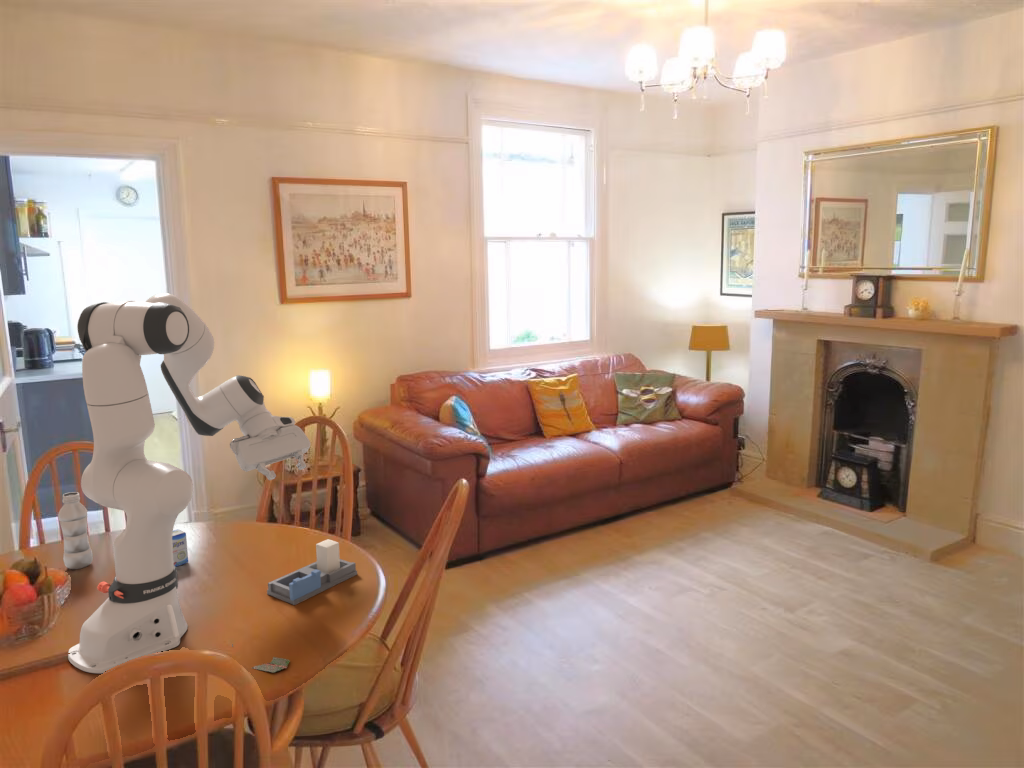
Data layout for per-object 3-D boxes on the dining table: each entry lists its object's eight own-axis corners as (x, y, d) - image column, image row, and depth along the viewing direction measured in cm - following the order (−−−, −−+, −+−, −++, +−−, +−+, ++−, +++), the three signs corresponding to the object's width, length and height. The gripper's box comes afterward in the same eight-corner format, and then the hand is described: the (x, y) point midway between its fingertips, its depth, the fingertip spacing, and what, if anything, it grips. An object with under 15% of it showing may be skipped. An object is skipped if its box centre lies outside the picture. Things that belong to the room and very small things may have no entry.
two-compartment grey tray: (296, 605, 166) (294, 582, 165) (267, 594, 172) (265, 571, 171) (358, 574, 182) (358, 553, 181) (330, 565, 188) (329, 544, 187)
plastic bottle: (84, 572, 184) (76, 498, 180) (58, 572, 184) (49, 498, 180) (99, 561, 190) (91, 490, 187) (74, 561, 190) (66, 490, 187)
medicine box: (159, 573, 184) (156, 541, 182) (151, 568, 186) (148, 537, 185) (189, 562, 190) (186, 532, 188) (180, 558, 192) (177, 528, 191)
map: (278, 677, 138) (278, 673, 138) (201, 654, 147) (201, 650, 146) (296, 664, 143) (295, 660, 143) (220, 642, 151) (220, 638, 151)
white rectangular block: (328, 577, 179) (326, 547, 177) (317, 573, 181) (315, 544, 179) (340, 572, 182) (338, 542, 180) (329, 568, 184) (328, 539, 183)
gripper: (230, 433, 178) (258, 478, 175) (297, 416, 194) (323, 456, 191) (222, 447, 182) (248, 491, 178) (288, 429, 198) (314, 469, 195)
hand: (288, 473), depth 185 cm, fingers open, 8 cm apart
